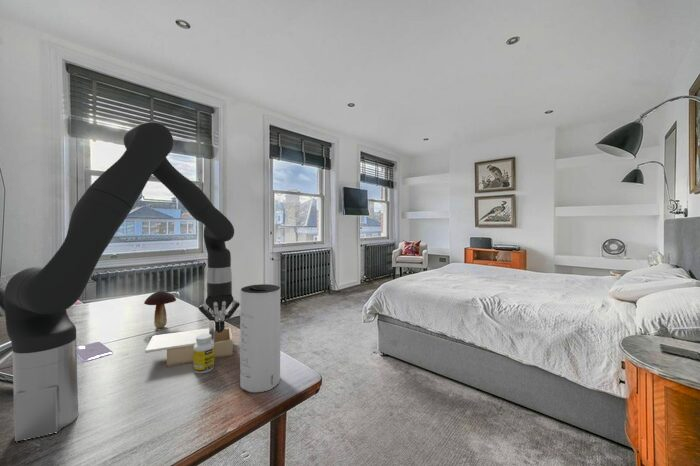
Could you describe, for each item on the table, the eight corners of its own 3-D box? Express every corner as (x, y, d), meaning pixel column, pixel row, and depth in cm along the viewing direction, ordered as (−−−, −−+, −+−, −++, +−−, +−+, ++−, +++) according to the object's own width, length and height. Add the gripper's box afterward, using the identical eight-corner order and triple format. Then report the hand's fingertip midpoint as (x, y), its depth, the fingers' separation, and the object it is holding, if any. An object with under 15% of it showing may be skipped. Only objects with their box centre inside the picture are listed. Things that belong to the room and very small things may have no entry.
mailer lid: (214, 342, 90) (214, 332, 90) (144, 352, 83) (144, 341, 83) (214, 329, 101) (214, 320, 101) (153, 337, 94) (152, 327, 94)
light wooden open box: (232, 355, 93) (232, 340, 93) (166, 366, 85) (166, 350, 85) (230, 341, 104) (230, 327, 104) (172, 350, 96) (172, 335, 96)
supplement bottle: (205, 375, 81) (205, 340, 81) (189, 373, 82) (188, 339, 82) (218, 365, 86) (218, 333, 86) (202, 364, 87) (202, 332, 87)
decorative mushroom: (143, 327, 117) (142, 290, 117) (174, 321, 124) (173, 286, 124) (145, 335, 109) (144, 295, 108) (178, 328, 116) (178, 291, 115)
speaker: (288, 383, 77) (288, 286, 76) (250, 399, 70) (250, 292, 69) (268, 368, 85) (268, 280, 84) (233, 381, 78) (232, 285, 77)
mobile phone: (83, 360, 88) (70, 348, 96) (83, 363, 88) (70, 351, 96) (114, 351, 94) (99, 340, 102) (114, 354, 94) (99, 343, 102)
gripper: (196, 284, 90) (196, 339, 90) (241, 280, 95) (241, 332, 96) (197, 279, 96) (198, 330, 97) (239, 276, 102) (240, 325, 103)
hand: (220, 331), depth 96 cm, fingers closed
